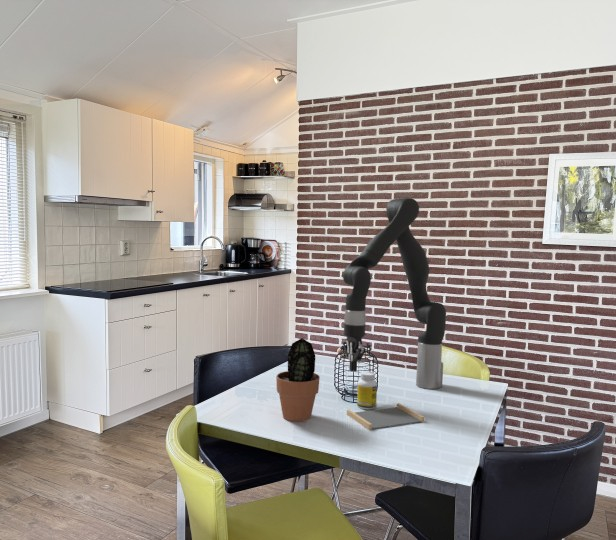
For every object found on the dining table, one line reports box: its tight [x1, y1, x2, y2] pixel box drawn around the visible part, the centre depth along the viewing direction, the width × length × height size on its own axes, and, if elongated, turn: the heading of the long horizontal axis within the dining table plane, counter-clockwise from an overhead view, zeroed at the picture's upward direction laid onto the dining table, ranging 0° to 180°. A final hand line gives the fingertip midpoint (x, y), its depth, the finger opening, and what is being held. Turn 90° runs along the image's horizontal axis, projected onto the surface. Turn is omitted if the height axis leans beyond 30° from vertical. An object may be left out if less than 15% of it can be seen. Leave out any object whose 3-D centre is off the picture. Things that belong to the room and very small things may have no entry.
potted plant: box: [275, 337, 320, 423], centre depth 161 cm, size 14×14×25 cm
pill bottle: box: [356, 371, 378, 411], centre depth 173 cm, size 6×6×12 cm
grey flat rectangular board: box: [346, 402, 425, 431], centre depth 163 cm, size 20×14×2 cm
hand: (353, 370), depth 182 cm, fingers closed
